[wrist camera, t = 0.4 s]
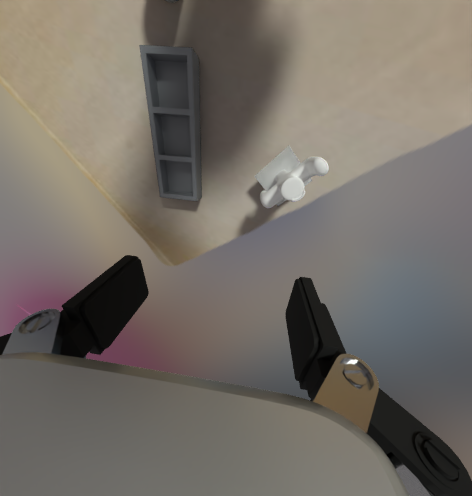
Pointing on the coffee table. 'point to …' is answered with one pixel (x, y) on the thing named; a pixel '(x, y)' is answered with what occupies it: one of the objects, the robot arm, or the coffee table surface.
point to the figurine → (288, 177)
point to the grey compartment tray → (174, 118)
